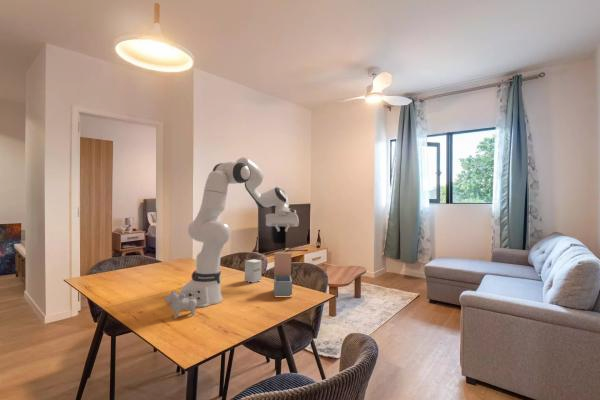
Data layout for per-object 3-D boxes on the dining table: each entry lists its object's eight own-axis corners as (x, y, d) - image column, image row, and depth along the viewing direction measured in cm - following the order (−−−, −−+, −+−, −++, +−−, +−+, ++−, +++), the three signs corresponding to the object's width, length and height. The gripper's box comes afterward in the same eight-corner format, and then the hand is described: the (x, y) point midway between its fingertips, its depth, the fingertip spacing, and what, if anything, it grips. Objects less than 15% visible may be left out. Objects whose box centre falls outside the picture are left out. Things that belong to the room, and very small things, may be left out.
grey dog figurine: (164, 315, 127) (164, 290, 127) (195, 311, 132) (196, 287, 132) (163, 320, 122) (164, 294, 122) (196, 316, 127) (197, 291, 127)
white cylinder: (252, 283, 177) (253, 262, 177) (244, 281, 182) (244, 260, 182) (261, 281, 183) (262, 260, 183) (253, 279, 188) (253, 258, 188)
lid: (274, 253, 163) (274, 252, 164) (274, 275, 166) (274, 274, 167) (291, 253, 164) (291, 252, 165) (290, 275, 167) (290, 274, 168)
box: (274, 297, 153) (274, 281, 153) (273, 289, 166) (274, 275, 166) (291, 297, 154) (292, 281, 154) (290, 289, 167) (290, 275, 167)
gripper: (265, 209, 186) (264, 227, 176) (298, 210, 188) (299, 227, 178) (265, 216, 190) (264, 233, 181) (297, 217, 192) (298, 234, 183)
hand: (282, 230), depth 179 cm, fingers open, 3 cm apart
